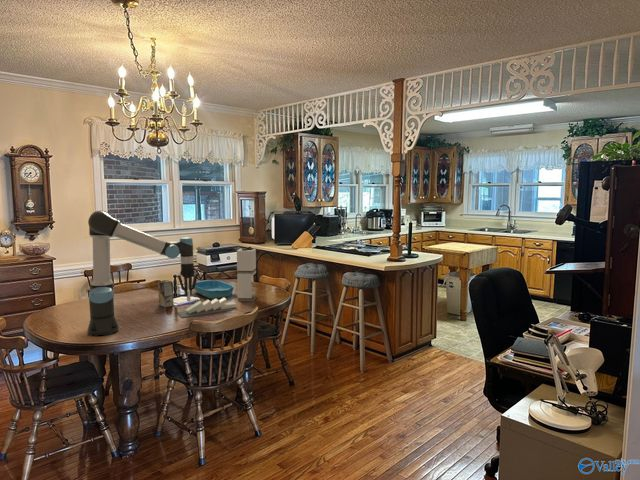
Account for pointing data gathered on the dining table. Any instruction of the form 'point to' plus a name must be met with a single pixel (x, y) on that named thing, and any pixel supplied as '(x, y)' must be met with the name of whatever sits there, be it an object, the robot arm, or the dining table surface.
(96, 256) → the robot arm
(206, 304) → the domino
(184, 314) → the runner mat
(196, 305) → the domino
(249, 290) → the gray square tower
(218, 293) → the casserole dish
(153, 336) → the dining table surface
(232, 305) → the domino
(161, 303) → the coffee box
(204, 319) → the dining table surface
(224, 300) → the domino
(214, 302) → the domino
